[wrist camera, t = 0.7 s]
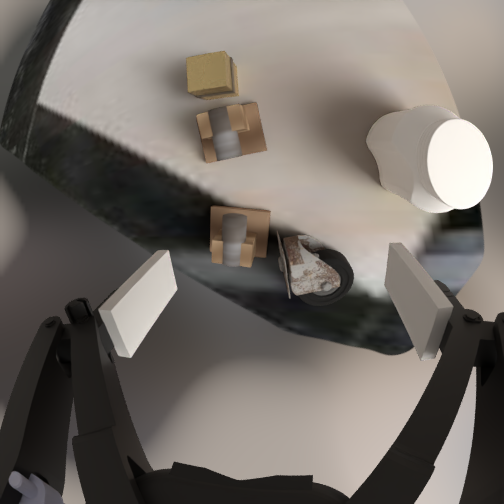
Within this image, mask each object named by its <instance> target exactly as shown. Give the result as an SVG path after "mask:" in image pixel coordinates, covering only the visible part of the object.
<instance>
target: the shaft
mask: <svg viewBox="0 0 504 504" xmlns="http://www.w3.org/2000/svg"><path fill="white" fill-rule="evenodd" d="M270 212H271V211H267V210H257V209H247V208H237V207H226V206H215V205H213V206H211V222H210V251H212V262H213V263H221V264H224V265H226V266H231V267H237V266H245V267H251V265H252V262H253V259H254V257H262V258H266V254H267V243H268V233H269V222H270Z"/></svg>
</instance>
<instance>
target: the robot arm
mask: <svg viewBox="0 0 504 504" xmlns="http://www.w3.org/2000/svg"><path fill="white" fill-rule="evenodd" d="M385 287H386V289H387V291H388V293H389V295H390V297H391V299H392V301H393V303H394V305H395V307H396V309H397V311H398V313H399V315H400V317H401V319H402V321H403V323H404V325H405V327H406V329H407V331H408V333H409V336H410V338H411V340H412V342H413V344H414V347H415V349H416V351H417V354H418V356H419V358H420V360H421V361H422V360H428V359H433V358H435V357H436V355H437V352H438V349H439V348H440V350H441V352H442V355H441V358H440V360H439V362H438V364H437V367H436V369H435V371H434V373H433V375H432V377H431V380H430V381H429V384H428V385H427V387H426V389H425V391H424V393H423V395H422V397H421V399H420V401H419V403H418V404H417V406H416V408H415V410H414V411H413V413H412V415H411V416H410V418H409V420H408V422H407V423H406V425H405V426H404V428H403V430H402V431H401V433H400V434H399V436H398V437H397V439H396V440H395V442H394V443H393V445H392V446H391V448H390V449H389V450H388V452H387V453H386V454H385V456H384V457H383V459H382V460H381V461H380V463H379V464H378V465H377V467H376V468H375V469H374V470H373V472H372V473H371V474H370V476H369V477H368V478H367V479H366V480H365V482H364V483H363V484H362V485H361V486H360V487H359V489H358V490H357V491H356V492H355V493H354V494H353V495H352V497H351V498H350V499H349V498H348V497H347V496H346V495H344V494H343V493H341V492H340V491H338V490H336V489H333V488H331V487H329V486H326V485H323V484H319V483H314V482H312V481H313V475H306V476H283V475H282V476H281V475H280V476H279V475H276V476H270V477H263V478H256V479H249V480H236V479H233V478H230V477H227V476H224V475H221V474H219V473H217V472H214V471H211V470H209V469H207V468H203V467H197V466H192V465H187V464H182V463H178V462H174V463H173V466H172V468H171V469H161V470H155V471H154V470H153V469H152V468H151V466H150V464H149V462H148V461H147V458H146V456H145V453H144V451H143V449H142V446H141V444H140V441H139V438H138V436H137V433H136V430H135V428H134V425H133V422H132V420H131V416H130V414H129V411H128V408H127V405H126V401H125V398H124V395H123V392H122V388H121V385H120V381H119V378H118V374H117V371H116V366H115V362H114V358H113V356H112V354H111V352H110V351H111V350H112V349H113V347H115V349H116V351H117V353H118V355H119V356H123V357H129V358H131V357H132V355H133V354H134V352H135V351H136V349H137V348H138V346H139V345H140V343H141V342H142V340H143V339H144V337H145V336H146V334H147V333H148V331H149V330H150V328H151V327H152V325H153V324H154V322H155V321H156V319H157V318H158V316H159V315H160V313H161V312H162V310H163V309H164V308H165V306H166V305H167V303H168V302H169V300H170V299H171V298H172V296H173V295H174V293H175V292H176V290H177V286H176V281H175V277H174V273H173V268H172V264H171V259H170V255H169V250H159V251H157V252H156V253H155V254H154V255H153V256H151V258H149V259H148V260H147V261H146V262H145V263H144V264H143V265H142V266H141V267H140V268H139V269H138V270H137V271H136V272H135V273H134V274H133V275H132V276H131V277H130V278H129V279H128V280H127V281H126V282H125V283H124V284H123V285H122V286H121V287H120V288H118V289H116V290H115V291H113V292H112V293H111V294H110V295H109V296H108V298H106V299H105V300H104V302H102V303H101V304H100V305H99V306H98V307H97V308H96V309H95V310H94V311H92V309H91V306H90V304H89V301H88V299H86V298H78V299H75V300H73V301H71V302H69V303H68V304H67V305H66V306H65V311H66V314H67V316H68V318H69V320H70V323H71V324H63V323H62V321H61V319H60V317H58V316H53V317H49V318H47V319H46V320H45V321H44V322H43V323H42V324H41V326H40V328H39V329H38V332H37V334H36V336H35V338H34V340H33V342H32V344H31V346H30V349H29V351H28V353H27V355H26V358H25V360H24V363H23V365H22V367H21V370H20V372H19V375H18V377H17V380H16V382H15V385H14V388H13V391H12V394H11V396H10V400H9V402H8V405H7V409H6V412H5V416H4V419H3V422H2V426H1V429H0V504H64V503H63V499H62V494H63V489H64V483H65V469H66V468H65V467H66V452H67V451H66V450H67V441H68V431H69V424H70V416H71V408H72V403H73V397H74V404H75V412H76V419H77V427H78V434H79V435H78V436H74V437H73V438H72V445H73V451H74V456H75V461H76V466H77V471H78V475H79V479H80V483H81V487H82V491H83V494H84V498H85V501H86V504H414V503H415V501H416V500H417V498H418V497H419V495H420V494H421V492H422V491H423V489H424V487H425V486H426V484H427V482H428V481H429V479H430V477H431V475H432V473H433V471H434V468H435V466H434V462H435V460H436V458H437V456H438V454H439V452H440V451H441V449H442V446H443V444H444V442H445V440H446V438H447V436H448V434H449V431H450V429H451V427H452V425H453V422H454V420H455V417H456V415H457V413H458V410H459V407H460V405H461V402H462V399H463V396H464V394H465V391H466V387H467V385H468V381H469V378H470V375H471V371H472V368H473V367H476V409H475V423H474V433H473V440H472V447H471V454H470V460H469V465H468V470H467V475H466V479H465V484H464V487H463V492H462V495H461V499H460V502H459V504H504V312H502V313H499V314H498V315H497V317H496V319H495V322H488V321H483V318H482V317H481V315H480V314H479V313H477V312H475V311H473V310H469V309H464V308H463V306H462V305H461V304H460V303H459V301H458V300H457V299H456V297H455V296H454V295H453V293H452V292H450V290H449V289H448V287H447V286H446V285H445V284H443V283H442V282H440V281H439V280H434V281H433V279H432V278H431V277H430V276H429V274H428V273H427V272H426V271H425V270H424V268H423V267H422V266H421V265H420V264H419V262H418V261H417V260H416V259H415V258H414V257H413V256H412V254H411V253H410V252H409V251H408V250H407V249H406V248H405V246H404V245H403V244H402V243H389V253H388V262H387V270H386V277H385Z"/></svg>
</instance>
